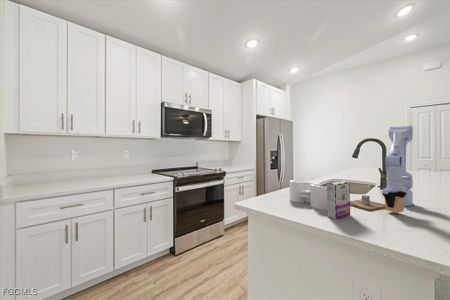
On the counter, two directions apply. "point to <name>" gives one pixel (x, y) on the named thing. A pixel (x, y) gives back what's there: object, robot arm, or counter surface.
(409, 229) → the counter surface
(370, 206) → the post board
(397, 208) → the tan rectangular block
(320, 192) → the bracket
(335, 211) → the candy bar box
